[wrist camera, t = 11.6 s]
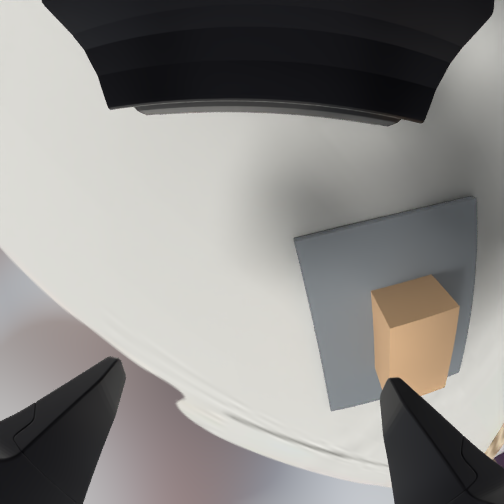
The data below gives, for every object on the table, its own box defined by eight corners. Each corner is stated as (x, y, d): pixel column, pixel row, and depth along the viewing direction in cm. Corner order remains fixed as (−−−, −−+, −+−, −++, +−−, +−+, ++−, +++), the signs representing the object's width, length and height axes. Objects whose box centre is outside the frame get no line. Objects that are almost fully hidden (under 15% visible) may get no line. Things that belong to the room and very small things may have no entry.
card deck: (374, 367, 23) (387, 406, 19) (370, 290, 20) (390, 328, 16) (426, 352, 22) (444, 387, 18) (431, 274, 19) (459, 306, 15)
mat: (293, 238, 19) (294, 241, 19) (471, 195, 17) (476, 197, 17) (330, 406, 26) (330, 411, 25) (456, 368, 23) (459, 372, 23)
